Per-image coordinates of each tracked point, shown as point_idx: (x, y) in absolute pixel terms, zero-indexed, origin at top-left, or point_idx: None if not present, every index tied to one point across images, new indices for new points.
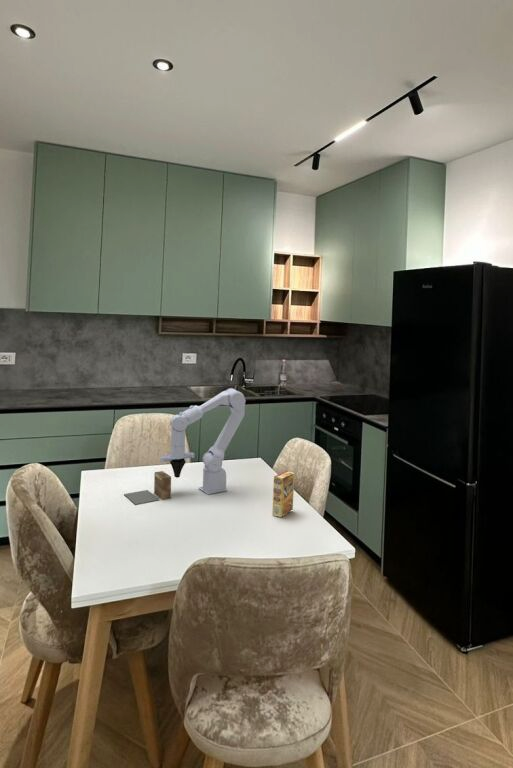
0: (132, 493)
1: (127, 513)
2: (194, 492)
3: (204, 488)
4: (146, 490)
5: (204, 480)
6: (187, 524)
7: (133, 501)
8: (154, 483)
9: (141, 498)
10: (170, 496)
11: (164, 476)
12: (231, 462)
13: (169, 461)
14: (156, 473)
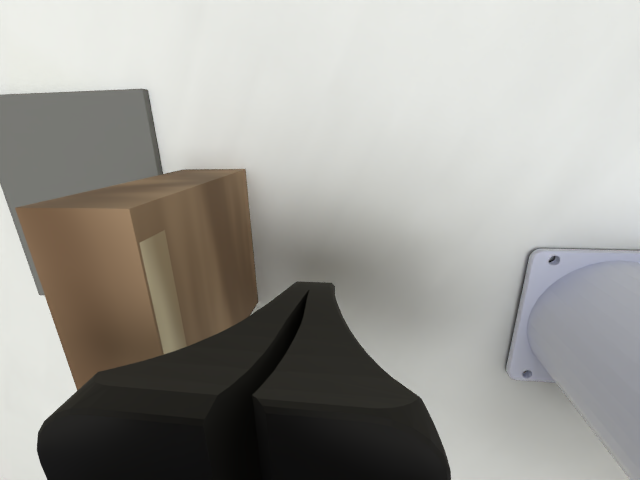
0: (27, 114)
1: (6, 359)
2: (453, 293)
3: (536, 337)
4: (133, 99)
5: (579, 384)
6: None
7: (30, 256)
8: (131, 183)
9: None
10: (252, 308)
11: None
12: None
13: (98, 378)
14: (35, 266)
